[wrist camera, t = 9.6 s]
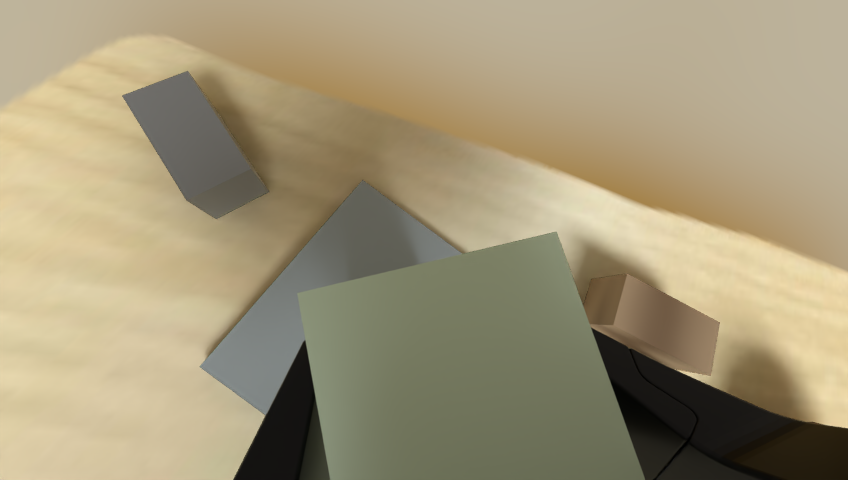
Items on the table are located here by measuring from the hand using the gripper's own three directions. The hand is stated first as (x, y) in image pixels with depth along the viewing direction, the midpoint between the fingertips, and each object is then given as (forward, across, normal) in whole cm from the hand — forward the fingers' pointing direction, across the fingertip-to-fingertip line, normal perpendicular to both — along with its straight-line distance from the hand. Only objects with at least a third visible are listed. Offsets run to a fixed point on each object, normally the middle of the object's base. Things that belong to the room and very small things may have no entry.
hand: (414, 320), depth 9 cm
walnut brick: (+3, -14, +9) cm, 17 cm away
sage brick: (+4, 0, +6) cm, 8 cm away
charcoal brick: (+14, +8, -2) cm, 16 cm away
